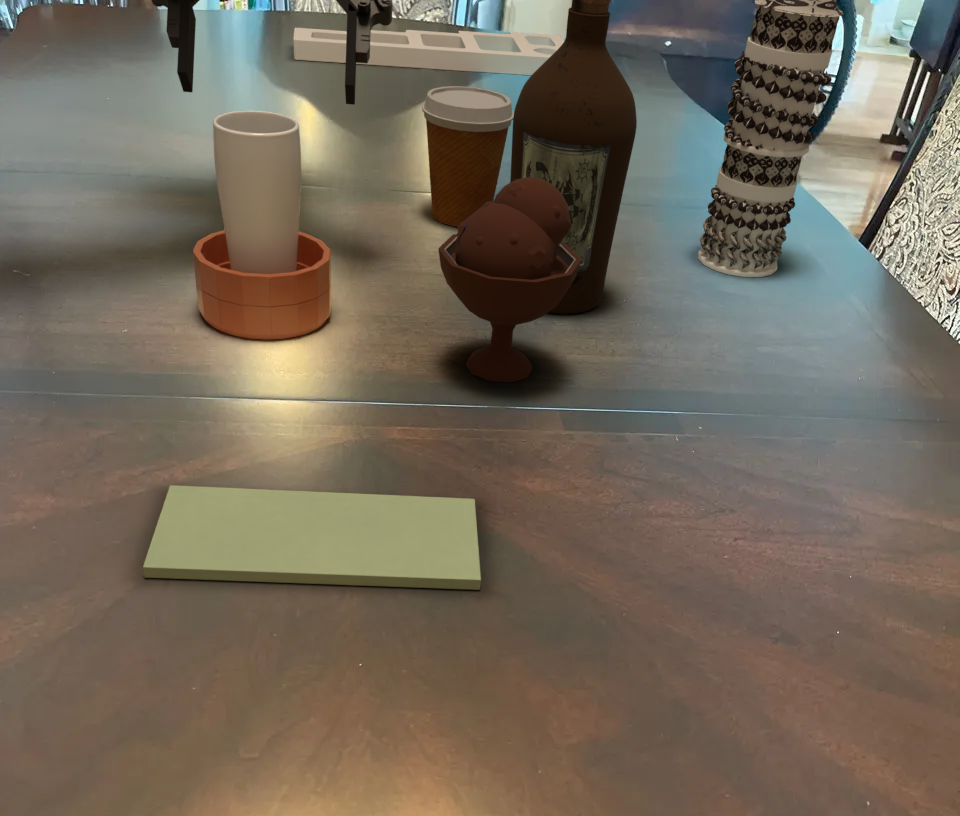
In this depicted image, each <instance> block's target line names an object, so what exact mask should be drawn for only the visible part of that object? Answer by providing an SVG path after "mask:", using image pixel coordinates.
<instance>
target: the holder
mask: <svg viewBox="0 0 960 816" xmlns="http://www.w3.org/2000/svg"><path fill="white" fill-rule="evenodd" d="M457 32H458V33H457ZM457 32H442V31H429V30H418V29H417V30H416V29H405V31H403V32H402V31H390V30H376V29H371V34H370V58H369V61H368V63H356V65H370V66H383V67H401V68H414V69H415V68H416V69H429V70H430V69H431V70H446V71H462V72H473V73H474V72H476V73H489V74H503V75H518V76H531V75H532V74H533V73H534V72H535V71H536V70H537V69H538V68H539V67H540V66H541V65H542V64H543V63H544V62H545V61H547V60H548V59H549V58H550V57H551V56H552V55H553V54H554V53H555V52H556V51H557V50H558V49H559V48H560V46H561V45H562V44H563V43H564V41H565V39H564V37H563V36H562V35H561V34H560V35H559V34H549V33H548V34H547V33H532V32H521V31H520V32H518V31H509V33H497V32H495V33H494V32H483V31H468V30H467V31H466V30H458V31H457ZM346 38H347V30H335V29H323V28H322V29H320V28H306V27H294V30H293V41H292V42H293V60H296V61H308V62H309V61H311V62H325V63H340V64H346Z"/></svg>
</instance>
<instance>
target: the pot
mask: <svg viewBox="0 0 960 816" xmlns="http://www.w3.org/2000/svg"><path fill="white" fill-rule="evenodd" d="M192 257H193V267H194V268H193V269H194V277H195V289H196V299H197V309H198V310H199V313H200V314H201V316H202V317H203V319H204V321H206V323H207V324H209V325H210V326H211V327H213V328H214V329H215V330H217V331H220V332H222V333H225V334H227V335H231V336H234V337H239V338H244V339H252V340H284V339H292V338H296V337H300V336H304V335H307V334H310V333H312V332H314V331H316V330H318V329H320V328H321V327H322V326H323V325H325V323H326V322H327V320H328V319H329V318H330V317H331V310H332V250H331V249H330V247H328V245H327V244H326V243H325V242H324V241H323V240H322V239H320V238H318V237H315V236H313V235H311V234H308V233H306V232H302V231H299V235H298V254H297V271H295V272H288V273H277V274H258V273H243V272H238V271H234V270H231V269H230V262H229V256H228V249H227V243H226V236H225V230H224V229H223V230H220V231H215V232H212V233H209V234H208V235H206V236H204V237H202V238H200V239H199V240H197V242H196V243H195V245H194V247H193V250H192Z"/></svg>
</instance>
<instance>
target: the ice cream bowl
mask: <svg viewBox="0 0 960 816" xmlns="http://www.w3.org/2000/svg"><path fill="white" fill-rule="evenodd" d="M571 226H572V225H571V220H570V214H569V209H568V204H567V203H566V201H565V199H564V197H563V195H562V193H561V192H560V191H559V190H558V189H557V188H556V187H555V186H553V185H552V184H550V183H548V182H546V181H544V180H542V179H538V178H532V177H526V178H521V179H516V180H514V181H512V182H511V183H510V182H509V183H507V184H506V185H504V186H503V187H502V188H501V189H500V190H499V192H498V193H497V194H495V196H494V200H493V202H486V203H485V204H483V206H482V207H481V208H480V209H478V210H477V211H476V212H474V213H473V214H472V215H470V216H469V217H468V218H466V219H465V220H464V221H463V222H461V223H460V224H459V225H458V226H457V233H454V234H451V236H449V237H448V238H447V239H446V241H444V242H443V243H442V244H441V246H439V247H438V249H437V250H438V256H439V264H440V269H441V271H442V272H441V273H442V275H443V277H444V280H445V281H446V284H447V285H448V287H449V288H450V289H451V291H452V292H453V293H454V294H455V296H456V297H457V299H458V300H459V301H460V302H461V303H462V305H463V306H464V307H465V308H466V309H467V311H469V312H470V313H471V314H473V315H475V316H476V317H477V318H479V319H481V320H484V321H487V322H489V323H490V326H491V338H490V344H489V345H487V346H484V347H481V348H479V349H475V350H473V352H472V353H471V354H470V356H468V358H467V360H466V363H465V366H466V368H467V369H468V370H469V372H470V373H471V375H473V376H475V377H478V378H480V379H483V380H486V381H489V382H496V383H497V382H499V383H513V382H517V381H520V380H525V379H527V378H528V377H529V375H530V374H531V372H532V370H533V366H532V362H531V361H530V360H529V359H528V357H527V356H526V355H525V354H524V353H523V352H521V351H519V350H517V349H515V348H514V347H513V337H514V336H513V335H514V330H515V328H516V326H517V325H522V324H527V323H531V322H532V321H535V320H538V319H540V318H542V317H545V316H546V315H547V314H549V313H548V312H550V311H551V310H552V309H553V308H555V307H556V306H557V305H558V304H559V302H560V301H561V299H562V298H563V297H564V295H565V294H566V292H567V290H568V289H569V287H570V286H571V284H572V282H573V281H574V279H575V277H576V274H577V271H578V269H579V266H580V263H581V259H580V258H579V257H578V256H577V255H576V254H575V253H574V252H573V251H572V250H571V249H570V248H569V247H568V246H567V245H566V244H565V243H562V242H561V241H562V240H563V238H564V237H565V235H566V234H567V232H568V231H569V229H570V227H571Z"/></svg>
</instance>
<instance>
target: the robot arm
mask: <svg viewBox="0 0 960 816" xmlns="http://www.w3.org/2000/svg"><path fill="white" fill-rule="evenodd" d="M150 1H151V3H152V4H153V6H155V7H157V8H159V7H160V8H161V7H165V8H167V10H166V11H167V12H166V30H165V31H166V34H167V37H168V40H169V44H170V46H171V48H173V49H177V66H176V67H177V68H176V69H177V70H176V74H177V76H178V79H179V82H180V85H181V89H182V92H183V93H193V91H194V89H193V87H194V71H195V70H194V67H195V46H196V44H195V43H196V28H197V27H196V26H197V18H196V15H195V11H194V8H193V7H195V6H196V5H197V4H198V3H199V2H200V0H150ZM335 1H336V3H337V4H338V5H339V6H340V7H341V9H342V10H343V11H344V12H345V13H346V31H347V38H346V63H345V68H344V69H345V72H344V92H345V105H353V106H354V105H356V85H357V84H356V83H357V81H356V79H357V64H356V63H368V61H369V58H370V34H371V30H373V27H375V26H376V25H382V26H384V27H386V26H389V25H391V24H392V22H393V0H335Z"/></svg>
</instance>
